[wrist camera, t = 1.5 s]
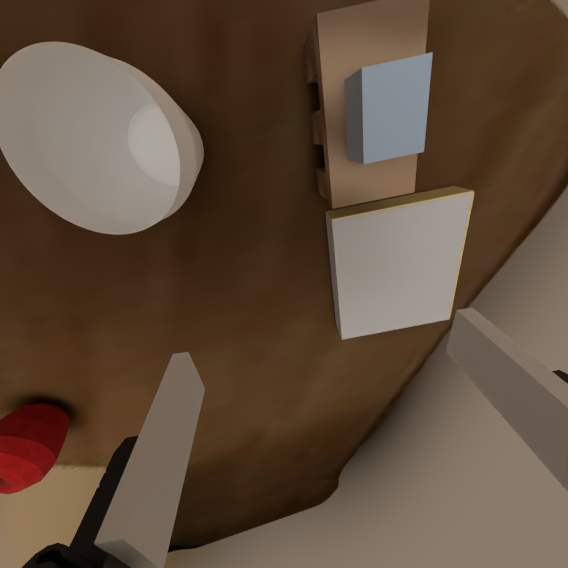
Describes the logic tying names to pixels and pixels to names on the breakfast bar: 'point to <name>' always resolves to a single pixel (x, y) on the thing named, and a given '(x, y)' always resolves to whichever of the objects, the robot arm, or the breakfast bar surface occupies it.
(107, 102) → the cup
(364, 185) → the block
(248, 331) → the breakfast bar surface
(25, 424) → the apple
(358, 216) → the dock
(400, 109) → the blue-grey block
